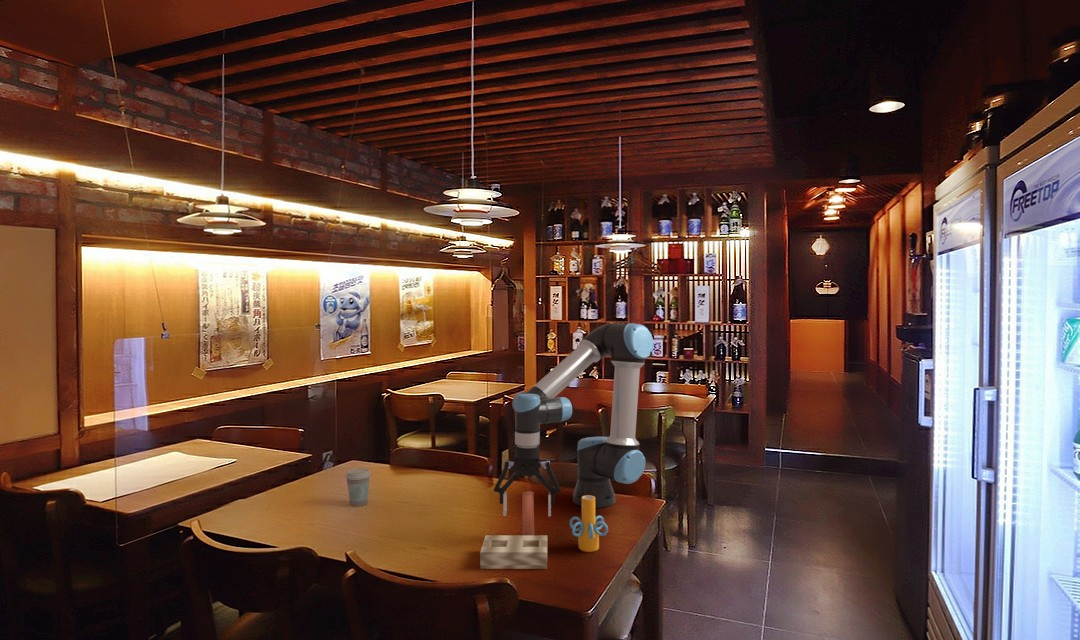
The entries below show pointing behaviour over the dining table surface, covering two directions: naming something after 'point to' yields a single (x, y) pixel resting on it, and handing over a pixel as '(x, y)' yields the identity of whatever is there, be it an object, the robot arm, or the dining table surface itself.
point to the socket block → (514, 552)
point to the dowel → (528, 513)
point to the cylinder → (588, 526)
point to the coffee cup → (358, 486)
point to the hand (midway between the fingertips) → (527, 514)
